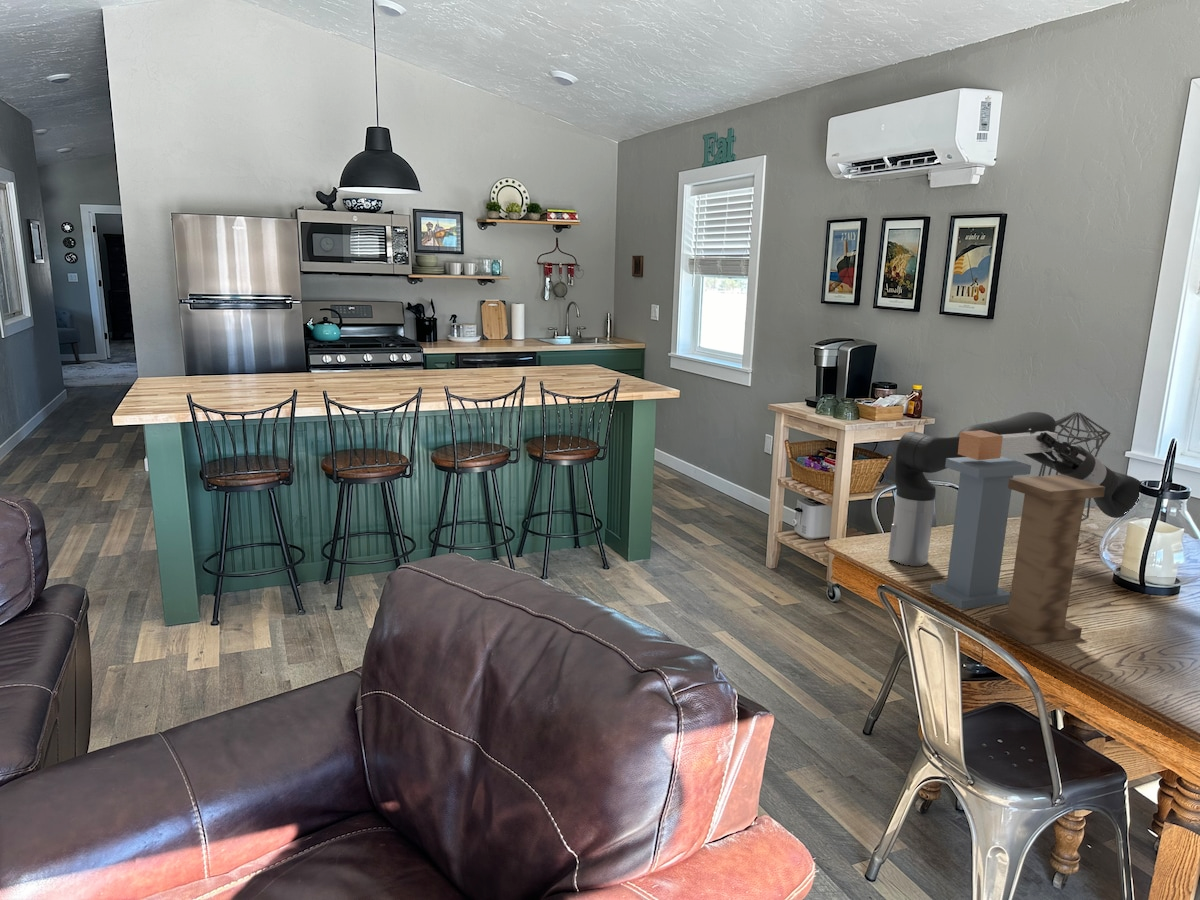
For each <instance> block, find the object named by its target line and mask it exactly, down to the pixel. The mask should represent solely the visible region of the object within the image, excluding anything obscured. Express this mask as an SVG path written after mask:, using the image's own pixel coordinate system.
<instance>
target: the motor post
mask: <svg viewBox="0 0 1200 900" xmlns="http://www.w3.org/2000/svg"><path fill="white" fill-rule="evenodd" d="M945 467H946V469H950V470H952V471H956V472H958V473H959V482H958V489H957V496H956V503H955V504H956V505H955V513H954V521H953V529H952V537H951V545H950V554H949V562H948V569H947V576H946V577H947V578H946V582H945V581H944V582H939V583H931V584H930V592H929V593H931V594H932V595H934V596H936V597H938V598H940V599H941V600H943V601H945V602H947V603H949V604H951V605H952V606H954V607H956V608H958V609H959V610H967V609H969V610H970V609H975V608H983V607H989V606H997V605H1004V604H1009V601H1010V594H1011V592H1009V591H1006V590H1005V589H1003V588H1001V587H999V582H1000V576H1001V575H1000V574H1001V567H1002V561H1003V555H1004V547H1005V545H1004V544H1005V540H1006V539H1005V538H1006V531H1007V526H1008V517H1009V510H1010V504H1011V497H1012V491H1013V490H1012V489H1009V488H1008V484H1009V479H1011V478H1014V476H1024V475H1031V471H1032V465H1031V464H1028V463H1024V462H1021V461H1017V460H1013V459H1011V458H1007V457H1005V456H1000V458H997V459H986V460H975V459H972V458H969V457H960V458H946V464H945Z"/></svg>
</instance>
